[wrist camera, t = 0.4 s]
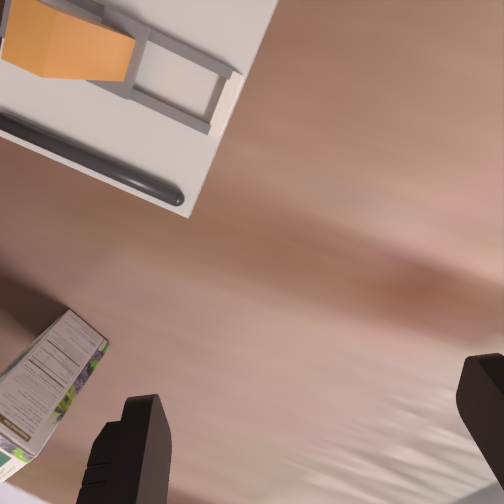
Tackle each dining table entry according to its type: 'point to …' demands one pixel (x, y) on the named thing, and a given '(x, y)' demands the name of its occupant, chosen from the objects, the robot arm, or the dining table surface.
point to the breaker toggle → (75, 45)
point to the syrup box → (44, 387)
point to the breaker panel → (144, 98)
